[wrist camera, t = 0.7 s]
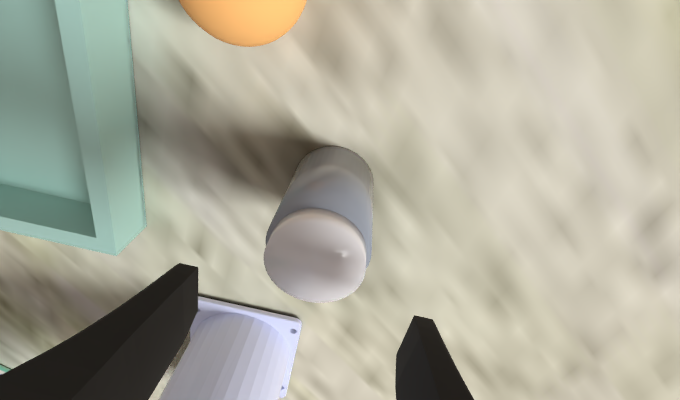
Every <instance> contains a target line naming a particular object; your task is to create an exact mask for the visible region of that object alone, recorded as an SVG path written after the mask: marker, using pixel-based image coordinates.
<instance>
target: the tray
mask: <svg viewBox="0 0 680 400" xmlns="http://www.w3.org/2000/svg"><path fill="white" fill-rule="evenodd" d="M146 226H147V225H146V214H145V202H144V190H143V178H142V167H141V155H140V143H139V131H138V120H137V108H136V96H135V85H134V73H133V61H132V49H131V38H130V26H129V14H128V2H127V0H0V230H3V231H7V232H12V233H16V234H21V235H25V236H30V237H34V238H39V239H43V240H48V241H52V242H57V243H61V244H66V245H70V246H75V247H79V248H84V249H88V250H92V251H97V252H101V253H106V254H110V255H115V256H117V255H118V254H119V253H120V252H121V251H122V250H123V249H124V248H125V247H126V246H127V245H128V244H129V243H130V242H131V241H132V240H133V239H134V238H135V237H136V236H137V235H138V234H139V233H140V232H141V231H142V230H143V229H144V228H145V227H146Z"/></svg>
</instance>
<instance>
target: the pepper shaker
mask: <svg viewBox="0 0 680 400" xmlns="http://www.w3.org/2000/svg"><path fill="white" fill-rule="evenodd" d="M373 186H374V182H373V175H372V172H371V170H370V168H369V166H368V164H367V163H366V162H365V160H364V159H363V158H362V157H360V156H359V155H358V154H356V153H355V152H353V151H351V150H349V149H346V148H343V147H337V146H328V147H322V148H319V149H316V150H314V151H312V152H310V153H309V154H307V155H306V156H305V157H304V158H303V159H302V161H301V162H300V164H299V165H298V167H297V169H296V172H295V174H294V176H293V178H292V180H291V182H290V184H289V186H288V188H287V191H286V193H285V195H284V197H283V199H282V201H281V203H280V205H279V207H278V210H277V212H276V214H275V216H274V218H273V220H272V222H271V224H270V226H269V229H268V231H267V235H266V248H265V252H264V265H265V268H266V271H267V273H268V275H269V277H270V278H271V280H272V281H273V282H274V283H275V284H276V285H277V286H278V287H279V288H280V289H281V290H283V291H284V292H286V293H287V294H289V295H291V296H293V297H295V298H298V299H300V300H304V301H308V302H316V303H326V302H333V301H337V300H340V299H343V298H345V297H347V296H348V295H350V294H352V293H353V292H354V291H355V290H356V289H357V288H358V287H359V286H360V284H361V283H362V281H363V279H364V276H365V272H366V268H367V267H368V265H369V262H370V259H371V251H372V219H373Z"/></svg>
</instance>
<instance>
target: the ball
mask: <svg viewBox="0 0 680 400" xmlns="http://www.w3.org/2000/svg"><path fill="white" fill-rule="evenodd" d="M179 1H180V3H181V5H182V7H183V8H184V10H185V11H186V12H187V14H188V15H189V16H190V17H191V19H192V20H193V21H194V22H195V23H196V24H197V25H198V26H199V27H201V28H202V29H203V30H205V31H206V32H207V33H208V34H210V35H212V36H213V37H215V38H217V39H219V40H221V41H223V42H226V43H229V44H232V45H237V46H244V47H252V46H260V45H264V44H268V43H270V42H273V41H275V40H277V39H278V38H280V37H281V36H283V35H284V34H285V33H286V32H288V31H289V30H290V29H291V28H292V27H293V25H294V24H295V23H296V22H297V20H298V19H299V17H300V15H301V13H302V11H303V9H304V7H305V4H306V1H307V0H179Z"/></svg>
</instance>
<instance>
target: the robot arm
mask: <svg viewBox="0 0 680 400" xmlns="http://www.w3.org/2000/svg"><path fill="white" fill-rule="evenodd" d="M301 326H302V322H301V320H299V319H298V318H294V317H290V316H285V315H281V314H276V313H272V312H267V311H263V310H258V309H254V308H249V307H245V306H240V305H236V304H231V303H227V302H222V301H218V300H213V299H209V298H204V297H200V296H198V267H195V266H190V265H186V264H181V263H179V264H177V265H176V266H174V267H173V268H172V269H170V270H169V271H168V272H166V273H165V274H164V275H162V276H161V277H160V278H158V279H157V280H156V281H154V282H153V283H152V284H150V285H149V286H148V287H146V288H145V289H144V290H142V291H141V292H139V293H138V294H137V295H135V296H134V297H132V298H131V299H130V300H128V301H127V302H125V303H124V304H122V305H121V306H120V307H118V308H117V309H115V310H114V311H112V312H111V313H109V314H108V315H106V316H104V317H103V318H101V319H100V320H98V321H97V322H95V323H94V324H92V325H90V326H89V327H87V328H86V329H84V330H83V331H81V332H79V333H78V334H76V335H74V336H73V337H71V338H69V339H67V340H66V341H64V342H62V343H60V344H59V345H57V346H55V347H53V348H52V349H50V350H48V351H46V352H44V353H42V354H41V355H39V356H37V357H35V358H33V359H31V360H29V361H27V362H25V363H23V364H21V365H19V366H17V367H16V368H14V369H12V370H10V371H8V372H6V373H4V374H1V375H0V400H148V399H149V398H150V396H151V394H152V393H153V391H154V390H155V388H156V386H157V385H158V383H159V381H160V380H161V378H162V376H163V375H164V373H165V372H166V370H167V368H168V367H169V365H170V363H171V362H172V360H173V358H174V357H175V355H176V353H177V352H178V350H179V348H180V347H181V345H182V343H183V342H184V340H185V338H186V336H187V334H188V332H189V329H190V343H189V344H188V346H187V348H186V350H185V352H184V354H183V355H182V357H181V359H180V361H179V363H178V365H177V366H176V368H175V370H174V372H173V374H172V376H171V377H170V379H169V381H168V383H167V385H166V387H165V388H164V390H163V392H162V394H161V396H160V398H159V400H278V399H279V398H283V397H285V396H286V392H287V388H288V383H289V379H290V375H291V370H292V366H293V361H294V357H295V353H296V348H297V344H298V339H299V335H300V331H301ZM395 387H396V400H474V399H473V397H472V395H471V393H470V392H469V390H468V388H467V386H466V384H465V382H464V381H463V379H462V377H461V375H460V373H459V371H458V370H457V368H456V366H455V364H454V362H453V360H452V358H451V356H450V354H449V352H448V350H447V348H446V346H445V344H444V342H443V340H442V338H441V335H440V333H439V331H438V329H437V327H436V325H435V323H434V321H433V320H432V319H428V318H424V317H419V316H415V315H414V317H413V319H412V322H411V324H410V326H409V328H408V330H407V333H406V335H405V337H404V339H403V341H402V344H401V346H400V348H399V350H398V352H397V355H396V386H395Z"/></svg>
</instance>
